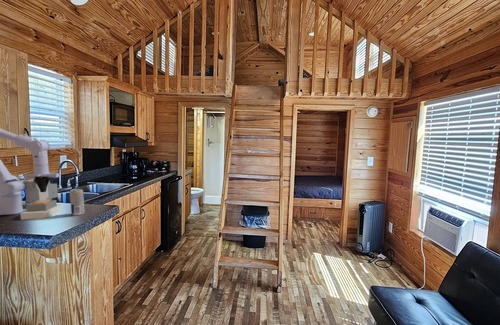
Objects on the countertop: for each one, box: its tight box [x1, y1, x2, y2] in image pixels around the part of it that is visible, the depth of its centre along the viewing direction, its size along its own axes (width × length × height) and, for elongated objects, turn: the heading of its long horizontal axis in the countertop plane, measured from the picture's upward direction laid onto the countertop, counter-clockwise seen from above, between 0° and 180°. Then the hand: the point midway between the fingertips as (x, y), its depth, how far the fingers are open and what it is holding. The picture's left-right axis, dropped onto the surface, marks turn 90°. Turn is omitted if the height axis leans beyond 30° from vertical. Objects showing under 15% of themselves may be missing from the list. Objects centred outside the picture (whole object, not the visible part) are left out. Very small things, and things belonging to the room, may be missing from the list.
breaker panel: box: [19, 199, 63, 221], centre depth 127 cm, size 10×14×6 cm
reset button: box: [32, 200, 51, 204], centre depth 127 cm, size 5×5×2 cm
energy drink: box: [69, 188, 86, 217], centre depth 127 cm, size 5×5×12 cm
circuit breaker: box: [23, 178, 59, 207], centre depth 143 cm, size 8×14×15 cm, turn 174°
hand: (43, 191), depth 131 cm, fingers closed
